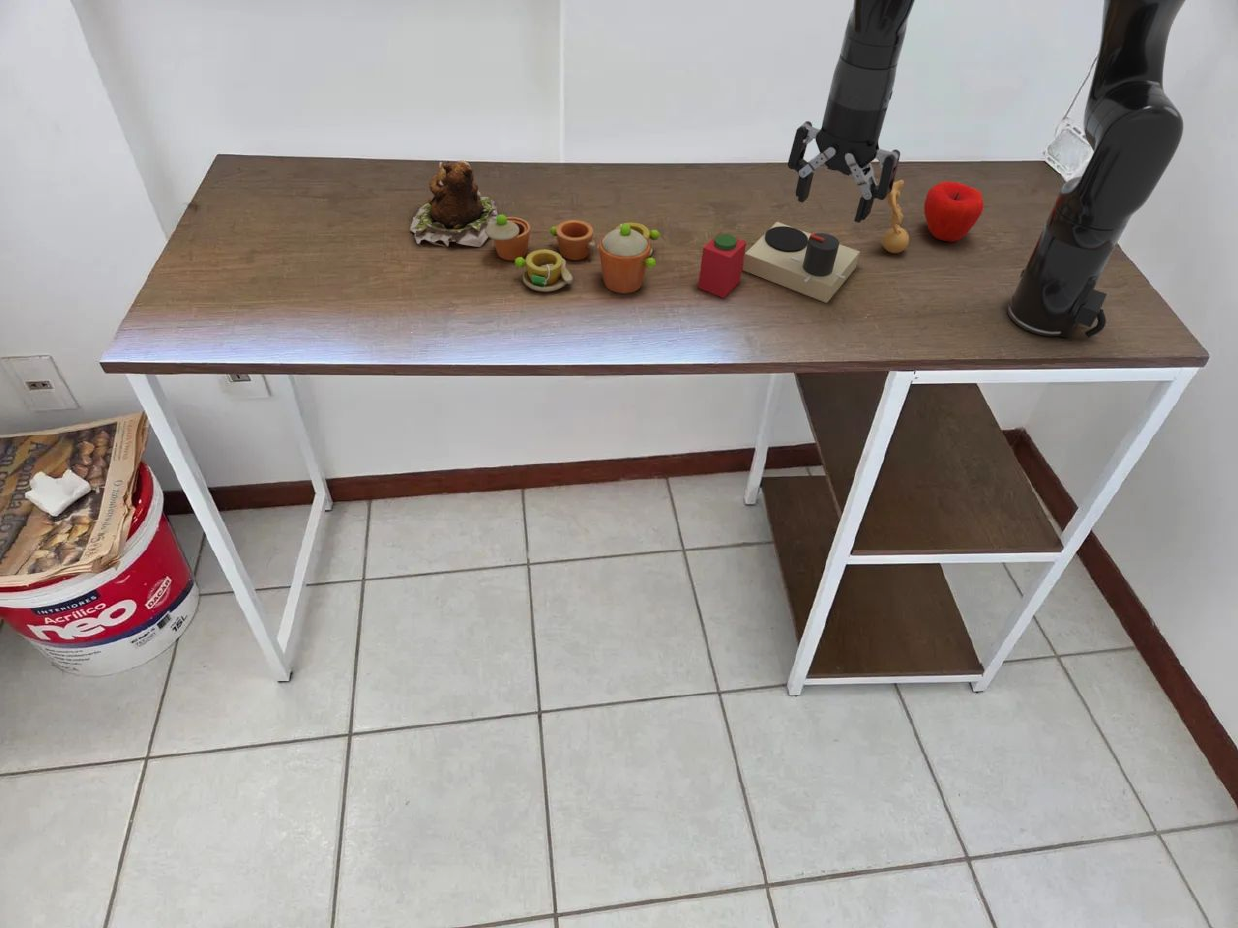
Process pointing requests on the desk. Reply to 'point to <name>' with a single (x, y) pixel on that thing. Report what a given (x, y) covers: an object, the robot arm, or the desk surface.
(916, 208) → the desk surface
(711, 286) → the red block green button
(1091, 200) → the robot arm
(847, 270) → the hob
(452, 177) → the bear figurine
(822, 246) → the hob knob
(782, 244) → the burner
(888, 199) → the figurine
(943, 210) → the apple
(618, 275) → the toy tea set
